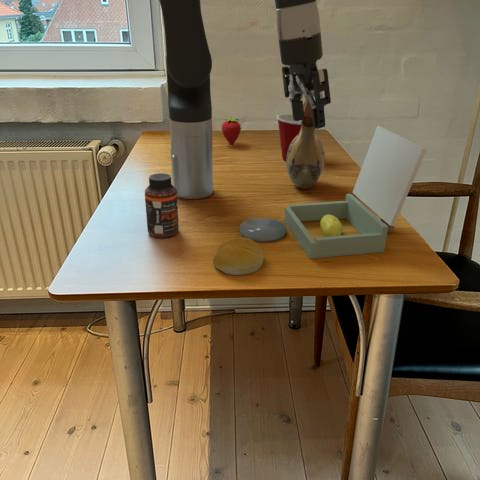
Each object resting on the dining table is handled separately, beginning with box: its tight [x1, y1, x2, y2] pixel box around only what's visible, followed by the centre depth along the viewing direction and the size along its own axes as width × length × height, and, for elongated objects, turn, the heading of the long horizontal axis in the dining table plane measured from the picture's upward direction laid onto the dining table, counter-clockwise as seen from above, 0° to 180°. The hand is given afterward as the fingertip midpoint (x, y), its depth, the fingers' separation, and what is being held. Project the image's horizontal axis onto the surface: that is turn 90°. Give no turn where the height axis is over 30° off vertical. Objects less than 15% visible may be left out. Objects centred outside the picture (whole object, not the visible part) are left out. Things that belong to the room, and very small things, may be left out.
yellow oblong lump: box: [319, 214, 344, 237], centre depth 87 cm, size 4×8×4 cm, turn 174°
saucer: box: [239, 217, 287, 243], centre depth 89 cm, size 9×9×1 cm
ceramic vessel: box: [285, 98, 326, 190], centre depth 107 cm, size 16×9×25 cm, turn 173°
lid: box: [351, 125, 427, 227], centre depth 84 cm, size 14×16×1 cm
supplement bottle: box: [144, 172, 180, 239], centre depth 86 cm, size 6×6×11 cm
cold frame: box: [283, 193, 388, 260], centre depth 87 cm, size 14×16×5 cm
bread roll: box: [212, 236, 265, 276], centre depth 78 cm, size 8×9×4 cm
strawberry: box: [221, 117, 242, 146], centre depth 141 cm, size 6×8×10 cm
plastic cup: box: [276, 113, 301, 162], centre depth 129 cm, size 11×11×12 cm
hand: (308, 123), depth 89 cm, fingers open, 8 cm apart
